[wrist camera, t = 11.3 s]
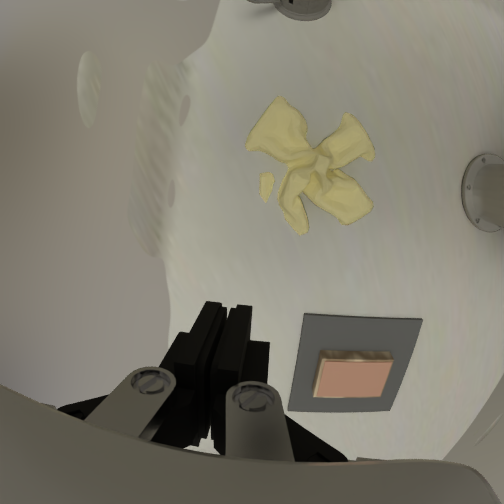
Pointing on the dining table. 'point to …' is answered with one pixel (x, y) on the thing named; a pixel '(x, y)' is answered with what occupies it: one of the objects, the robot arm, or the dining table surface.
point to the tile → (351, 373)
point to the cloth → (312, 165)
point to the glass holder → (300, 8)
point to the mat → (351, 339)
